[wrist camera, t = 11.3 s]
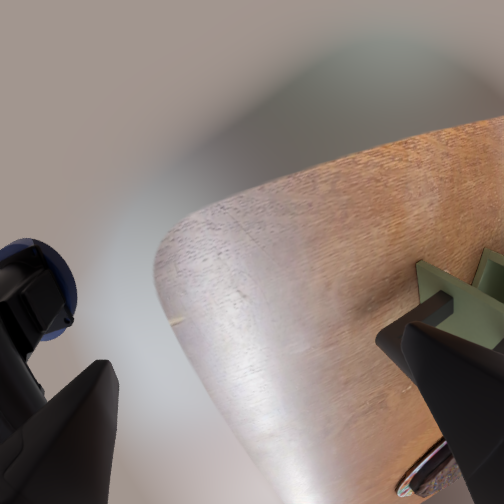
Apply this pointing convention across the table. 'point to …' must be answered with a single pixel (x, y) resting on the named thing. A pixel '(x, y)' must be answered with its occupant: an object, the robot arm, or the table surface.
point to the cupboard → (490, 275)
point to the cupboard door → (447, 314)
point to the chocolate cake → (430, 473)
